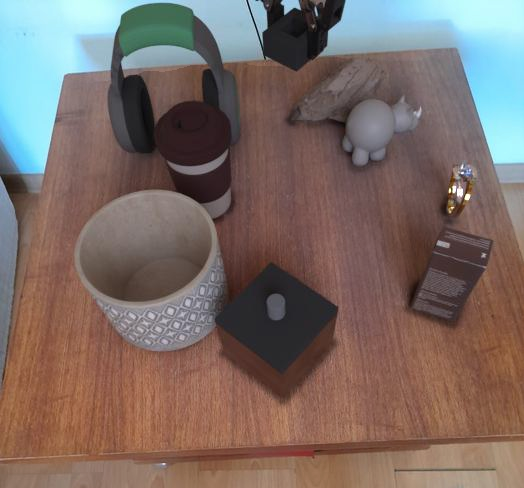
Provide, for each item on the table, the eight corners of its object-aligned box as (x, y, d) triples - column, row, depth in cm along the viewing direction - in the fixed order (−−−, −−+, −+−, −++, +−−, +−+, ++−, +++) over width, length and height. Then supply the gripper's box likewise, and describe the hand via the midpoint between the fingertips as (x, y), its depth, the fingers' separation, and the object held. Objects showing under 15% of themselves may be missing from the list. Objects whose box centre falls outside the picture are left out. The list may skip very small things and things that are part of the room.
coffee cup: (251, 188, 75) (242, 102, 61) (222, 236, 71) (206, 156, 58) (194, 170, 77) (174, 83, 63) (163, 216, 73) (135, 134, 60)
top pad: (294, 30, 65) (294, 6, 63) (327, 46, 64) (329, 22, 61) (263, 55, 63) (261, 32, 61) (296, 72, 62) (296, 48, 59)
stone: (386, 95, 82) (351, 43, 78) (409, 91, 75) (372, 33, 70) (320, 159, 85) (283, 112, 81) (336, 162, 77) (296, 110, 73)
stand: (273, 301, 66) (271, 266, 59) (332, 342, 63) (338, 312, 56) (223, 352, 63) (215, 323, 56) (283, 399, 60) (282, 374, 53)
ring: (438, 190, 73) (455, 147, 66) (460, 193, 72) (479, 150, 65) (436, 227, 70) (453, 186, 63) (459, 230, 70) (478, 189, 62)
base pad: (271, 266, 59) (270, 248, 55) (338, 312, 56) (341, 295, 52) (215, 323, 56) (210, 307, 53) (282, 374, 53) (281, 360, 49)
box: (461, 296, 65) (496, 239, 54) (452, 323, 63) (487, 270, 52) (417, 281, 66) (442, 223, 55) (407, 308, 65) (431, 253, 54)
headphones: (240, 113, 82) (226, -18, 64) (242, 161, 77) (228, 34, 59) (129, 122, 82) (84, -6, 64) (124, 170, 78) (74, 47, 60)
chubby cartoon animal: (424, 154, 76) (439, 106, 68) (352, 174, 75) (359, 128, 67) (404, 124, 79) (417, 75, 71) (335, 142, 78) (340, 95, 70)
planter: (244, 266, 69) (236, 203, 57) (206, 369, 62) (187, 321, 51) (138, 242, 71) (109, 178, 60) (91, 339, 65) (48, 287, 53)
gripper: (379, -120, 47) (357, 53, 62) (265, -156, 51) (271, 13, 66) (331, -85, 44) (321, 85, 60) (217, -126, 49) (235, 41, 64)
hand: (295, 46), depth 63 cm, fingers closed on top pad, 5 cm apart
